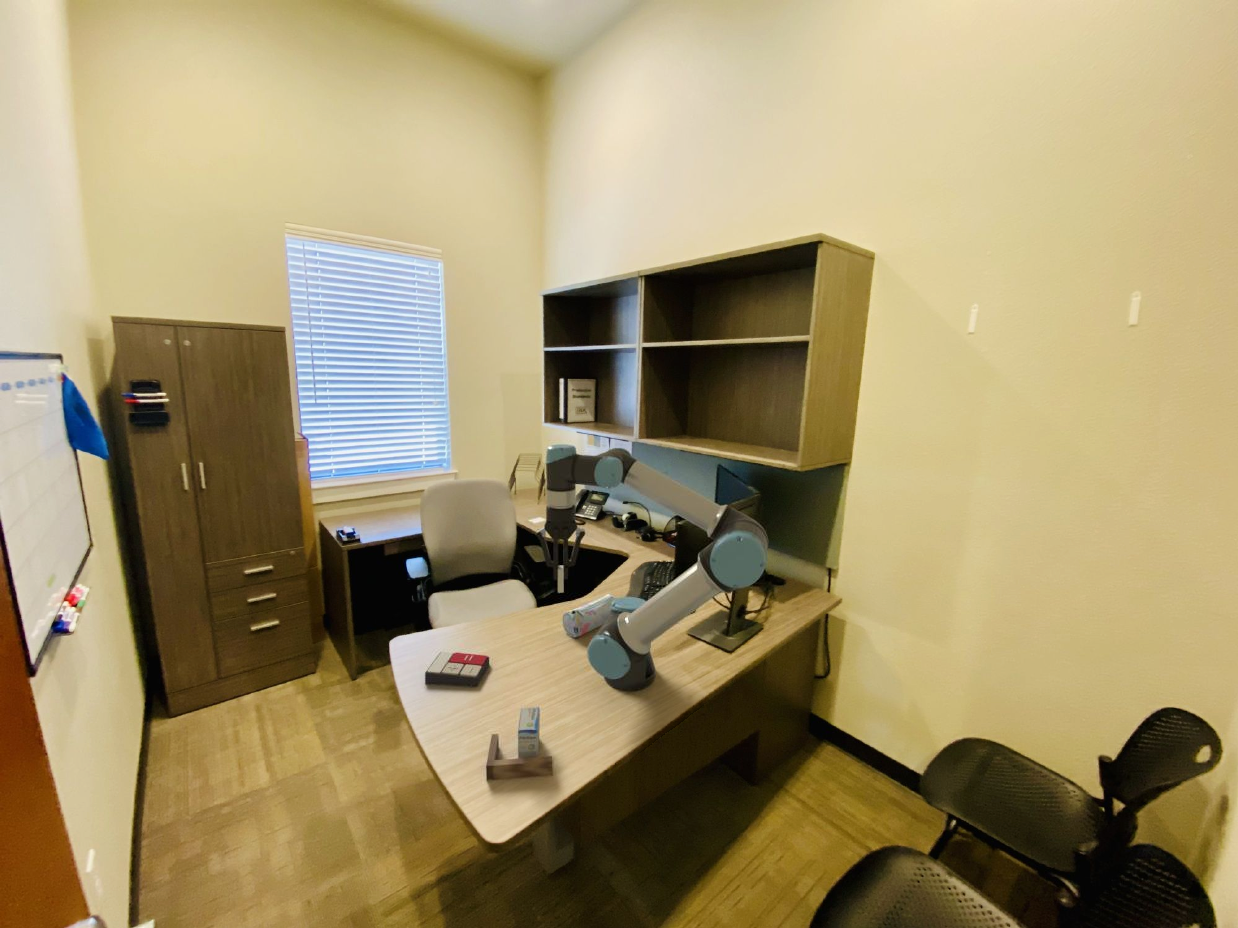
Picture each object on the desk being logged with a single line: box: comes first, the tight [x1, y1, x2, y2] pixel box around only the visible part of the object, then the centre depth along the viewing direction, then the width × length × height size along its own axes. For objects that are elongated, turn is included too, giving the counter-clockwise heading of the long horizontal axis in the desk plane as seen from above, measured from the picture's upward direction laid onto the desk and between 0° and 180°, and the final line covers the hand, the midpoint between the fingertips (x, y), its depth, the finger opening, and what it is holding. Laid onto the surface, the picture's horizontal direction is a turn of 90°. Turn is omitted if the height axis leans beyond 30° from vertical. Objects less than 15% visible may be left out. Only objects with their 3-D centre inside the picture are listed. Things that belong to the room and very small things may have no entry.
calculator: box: [424, 651, 490, 688], centre depth 142 cm, size 11×4×15 cm
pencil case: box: [562, 593, 617, 638], centre depth 170 cm, size 21×9×10 cm, turn 134°
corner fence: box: [485, 733, 553, 781], centre depth 111 cm, size 14×10×4 cm
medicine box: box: [517, 706, 541, 759], centre depth 113 cm, size 8×4×9 cm, turn 6°
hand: (560, 590), depth 131 cm, fingers closed
